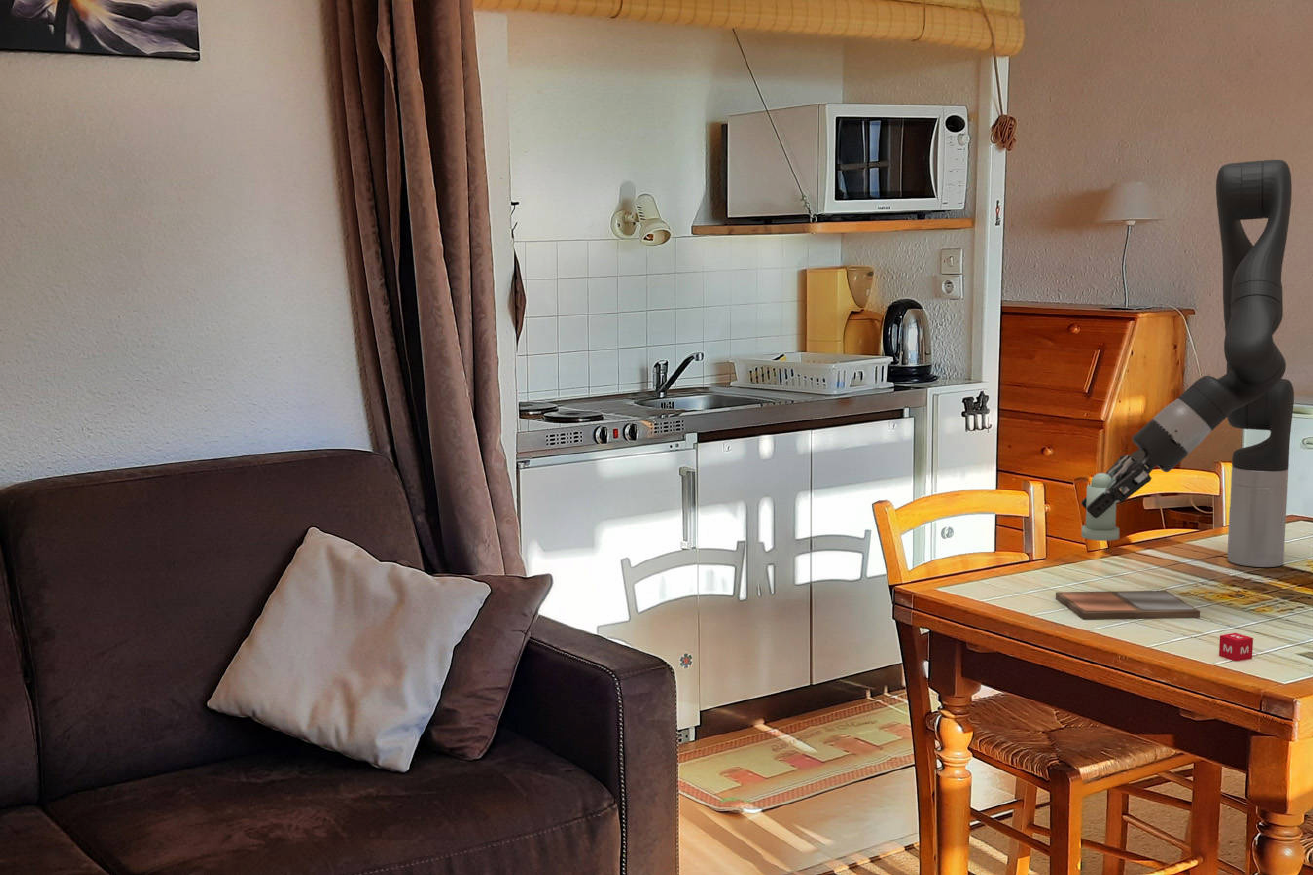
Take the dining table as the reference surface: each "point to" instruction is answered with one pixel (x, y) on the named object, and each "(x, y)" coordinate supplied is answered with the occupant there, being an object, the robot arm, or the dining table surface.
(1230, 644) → the dice
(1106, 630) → the dining table surface
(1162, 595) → the brown flat rectangular board
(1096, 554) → the dining table surface
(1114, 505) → the pawn
